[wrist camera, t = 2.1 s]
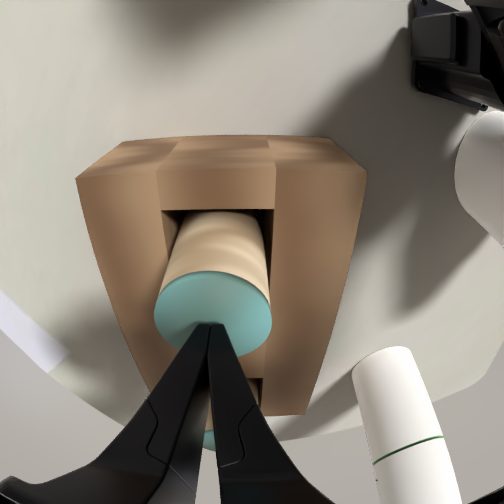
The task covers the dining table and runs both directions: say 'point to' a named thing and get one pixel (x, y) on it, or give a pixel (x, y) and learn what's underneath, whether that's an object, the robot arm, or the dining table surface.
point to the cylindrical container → (403, 431)
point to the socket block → (274, 236)
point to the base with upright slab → (483, 173)
